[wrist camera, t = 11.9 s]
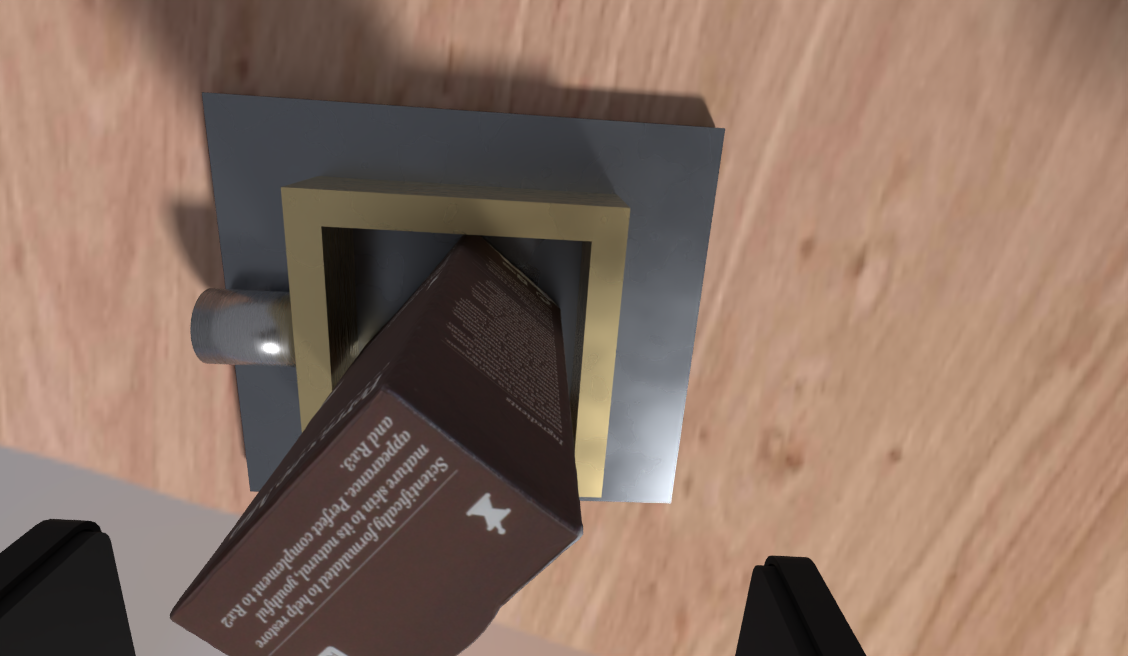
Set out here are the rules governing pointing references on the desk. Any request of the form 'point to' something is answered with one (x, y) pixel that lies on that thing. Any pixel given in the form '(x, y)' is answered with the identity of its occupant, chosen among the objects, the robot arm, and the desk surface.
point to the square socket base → (431, 229)
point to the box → (410, 484)
